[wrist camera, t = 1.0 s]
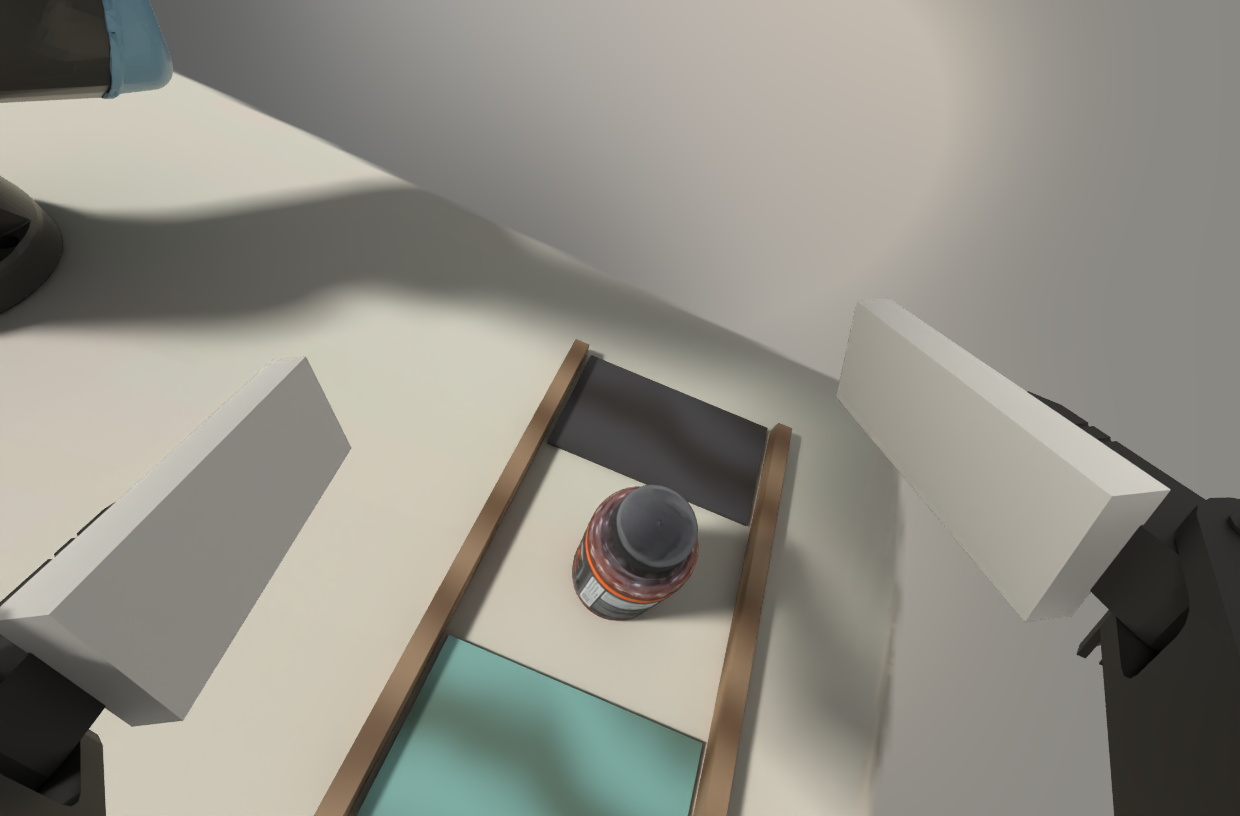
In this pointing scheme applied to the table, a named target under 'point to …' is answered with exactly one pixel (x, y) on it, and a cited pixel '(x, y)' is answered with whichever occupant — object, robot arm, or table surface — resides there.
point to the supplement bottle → (635, 551)
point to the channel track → (540, 706)
